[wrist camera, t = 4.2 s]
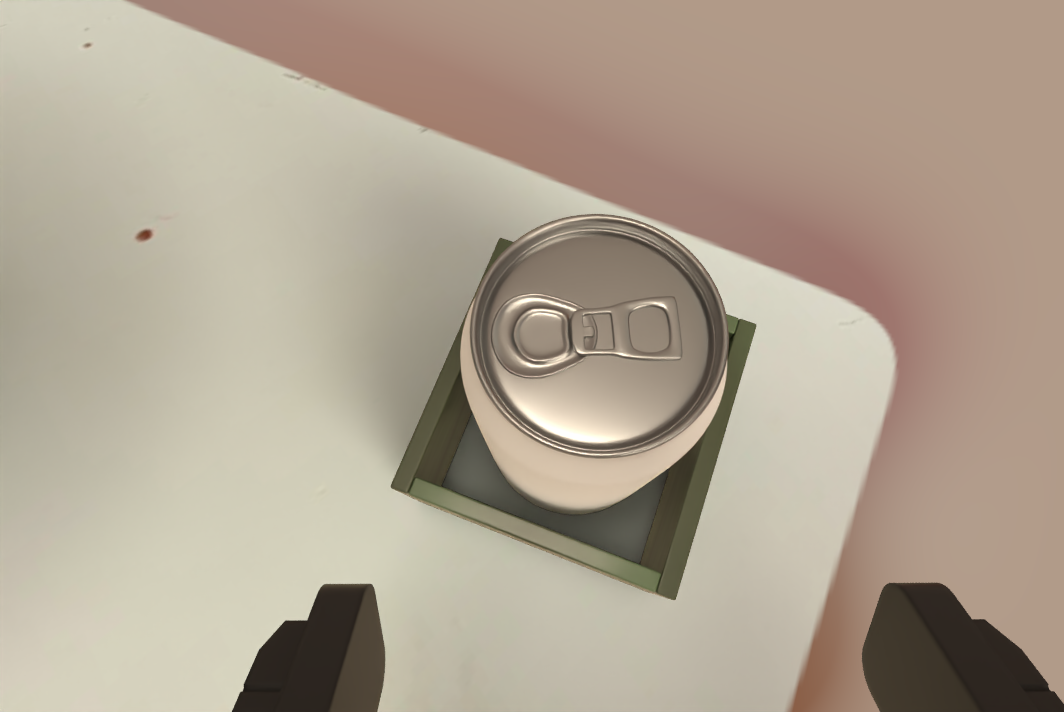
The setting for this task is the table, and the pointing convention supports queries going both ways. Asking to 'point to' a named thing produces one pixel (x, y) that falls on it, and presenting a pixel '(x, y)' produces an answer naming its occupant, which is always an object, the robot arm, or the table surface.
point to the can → (593, 359)
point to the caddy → (652, 575)
